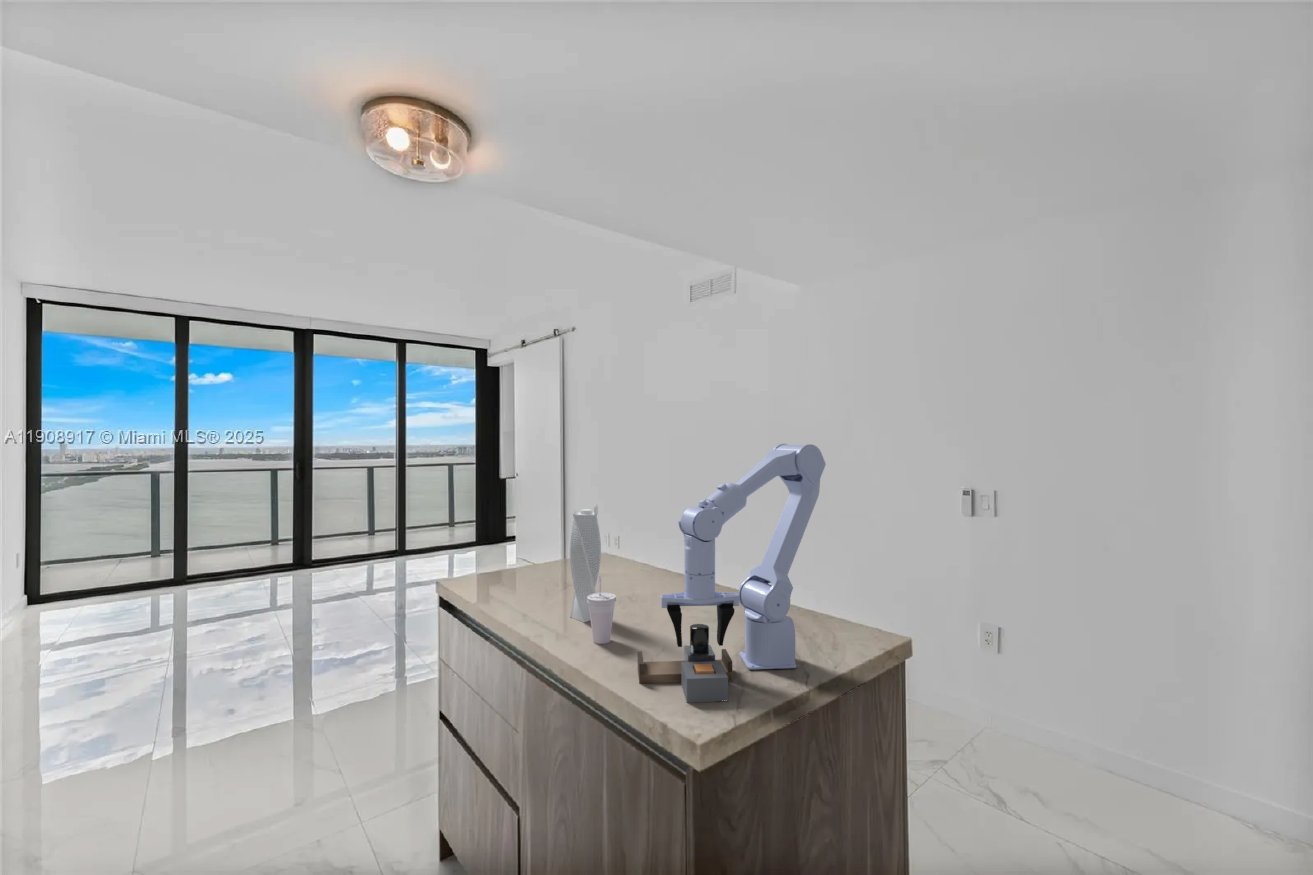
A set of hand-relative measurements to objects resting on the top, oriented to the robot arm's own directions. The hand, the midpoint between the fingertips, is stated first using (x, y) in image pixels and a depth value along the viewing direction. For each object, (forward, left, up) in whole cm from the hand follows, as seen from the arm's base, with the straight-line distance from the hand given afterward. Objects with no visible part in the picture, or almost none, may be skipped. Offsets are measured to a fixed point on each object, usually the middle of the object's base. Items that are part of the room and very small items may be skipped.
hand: (699, 644), depth 107 cm
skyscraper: (+22, -35, -6) cm, 42 cm away
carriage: (0, 0, -4) cm, 4 cm away
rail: (+3, 0, -6) cm, 6 cm away
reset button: (0, +8, -5) cm, 9 cm away
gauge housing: (0, +8, -6) cm, 9 cm away
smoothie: (+18, -19, -6) cm, 27 cm away
